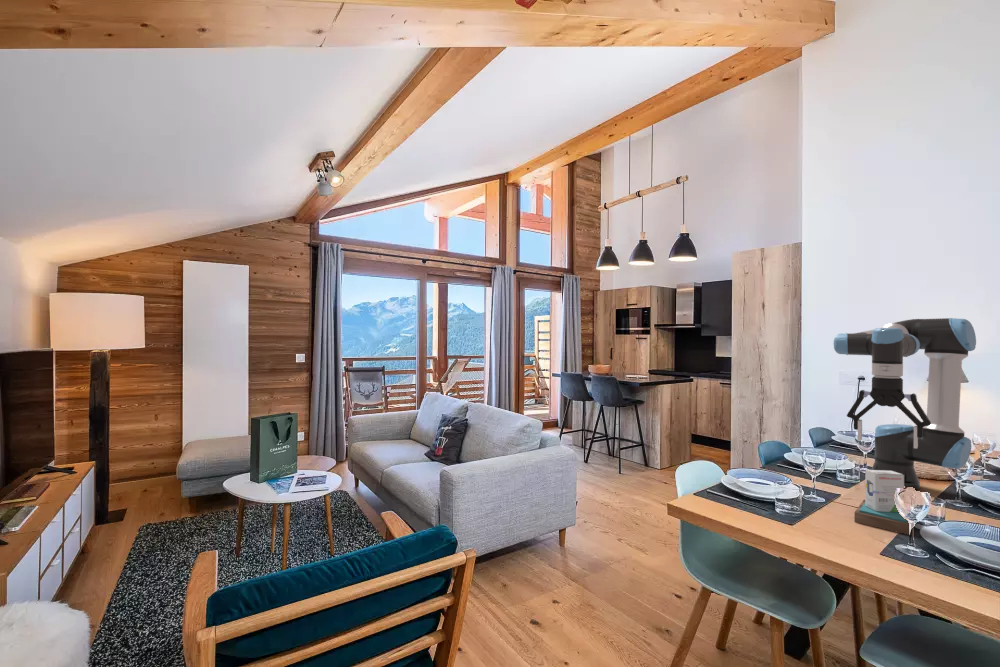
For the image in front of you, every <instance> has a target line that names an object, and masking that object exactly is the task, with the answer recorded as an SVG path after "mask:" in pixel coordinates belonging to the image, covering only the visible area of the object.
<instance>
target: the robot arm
mask: <svg viewBox="0 0 1000 667" xmlns="http://www.w3.org/2000/svg"><path fill="white" fill-rule="evenodd" d="M976 345H977V337H976V332H975V329H974V326H973V324H972V323H971V321H970V320H968V319H965V318H956V317H955V318H954V317H950V318H948V317H947V318H944V317H943V318H912V319H906V320H901V321H896V322H892V323H888V324H885V325H883V326H882V327H881V328H880V327H877V328H874V329H870V330H865V331H861V332H853V333H847V332H845V333H838V334H836V335H835V337H834V339H833V348H834V351H835V352H836V353H837V354H838V355H847V356H871V375H872V377H871V391H869V390H865V389H861V390H859V392H858V397H857V399H856V400H855V402H854V404H853V405H852V406H851V408H850V409H849V410H848V413H847V414H846V417H848V418H850V419H852V420H853V429H854V430H856V431H857V441H858V442H861V441H862V440H863V419H861V417H863V416H864V415H865V414H867V412H869V411H870V410H871V409H872V408H874V407H875V406H876V405H878V406H880V407H890V408H894V407H897V408H898V409H899V410H901V411H902V413H903V414H905V416H907V418H909V419H910V420H911V422H913V423H914V425H911V424H880V425H879V424H878V425H877V426H876V427H875V428H874V429H875V430H874V431H875V433H874V461H873V464H872V467H871V469H870V470H885V471H894V472H897V473H900V474H903V475H904V486H905V487H913V488H915V489H918V488H920V487H921V486H920V485H921V484H920V483H921V482H920V480H919V477H918V474H917V472H916V470H915V462H916V463H922V464H925V465H926V464H927V465H931V466H936V467H942V468H944V469H945V468H946V469H947V468H949V469H954V470H959V469H960V470H961V469H963V468H964V467H965V466H966V464H967V463H968V461H969V459H970V456H971V451H972V440H971V439H970V438H968V437H967V436H965V431H964V430H963V429H962V428H961V427H960V424H959V423H960V407H961V405H960V404H961V389H962V388H961V387H962V385H961V383H962V369H963V368H962V366H963V361H964V359H965V358H966V359H967V357H969V352H972V351H974V350H976V347H977V346H976ZM919 350H924V355H925V356H926V357H927V358H928V359H929V362H928V363H929V364H928V382H927V383H928V384H927V386H928V387H927V402H926V403H927V404H926V405H927V408H926V413H925V411H924V408H922V406H921V405H920V403H919V401H918V396H917V394H916V393H909V394H907V393H904V379H903V378H902V377H903V376H904V362H903V361H904V358H908V357H910V356H913V355H916V354H917V352H919ZM868 396H870V398H872V401H871V402H870V403H869V404H868V405H866V406H865V407H864V408H863V409H861V411H859V412H858V413H856V414H855V412H856V411H857V409H858V408H859V407H860V405H861V403H862V402H863V401H864V398H867V397H868ZM904 399H907V400H908V402H911V405H912V406H913V408H914V409H915V411H916V412H917V414H918V415H919V417H920V419H921V420H922V421H921V420H920V419H919V418H918V417H917V416H916V415H915V414H914V413H913V412H912V411H911V410H909V408H908V407H906V405H905V404H904V403H903V402H902V401H903V400H904ZM920 489H921V488H920ZM918 490H919V489H918Z"/></svg>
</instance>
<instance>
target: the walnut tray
mask: <svg viewBox="0 0 1000 667" xmlns="http://www.w3.org/2000/svg"><path fill="white" fill-rule="evenodd" d="M854 523H858V524H861V525H862V524H863V525H866V526H870V527H874V528H878V527H879V529H882V528H883V530H886V529H887V530H886V531H890V530H891V531H890V532H894V531H897V532H896V533H898V532H900V533H899V534H902V533H904V534H903V535H906V534H907V536H909V535H908V534H909V523H908V521H907V520H906V519H904V518H903V517H902V516H901V515H900V514H899V512H877V511H875V510H873V509H871V508H869V507H867V506H865V499H863V500H862V501H861V503H860V504H859V506H858V507H856V510H855V512H854Z"/></svg>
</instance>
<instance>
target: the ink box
mask: <svg viewBox="0 0 1000 667" xmlns="http://www.w3.org/2000/svg"><path fill="white" fill-rule="evenodd" d="M864 477H865V478H864V479H865V481H864V482H865V485H864V487H865V492H864V493H865V496H864V497H865V499H864V500H865V506H867V507H869V508H871V509H873V510H875V511H877V512H898V510H897V508H896V505H895V501H894V494H895V490H896V488H904V475H903V474H900V473H897V472H894V471H885V470H871V469H865V476H864Z"/></svg>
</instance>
